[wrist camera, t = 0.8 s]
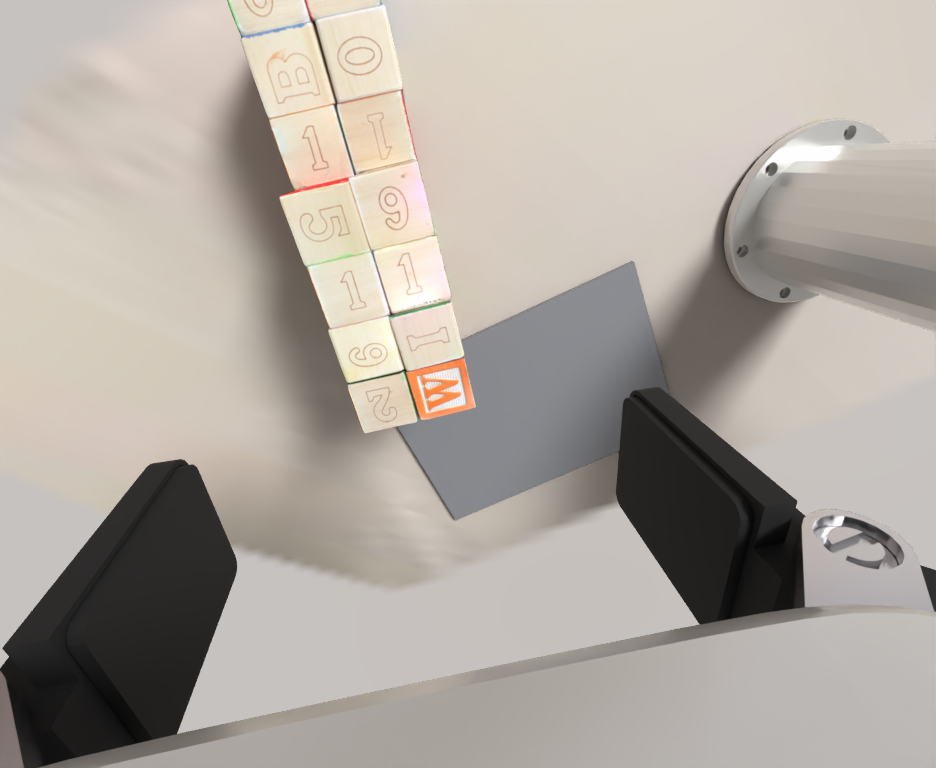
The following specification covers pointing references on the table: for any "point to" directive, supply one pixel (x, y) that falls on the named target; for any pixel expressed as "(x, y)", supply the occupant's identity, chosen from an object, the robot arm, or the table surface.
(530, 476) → the mat
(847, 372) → the table surface
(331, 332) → the stack of blocks
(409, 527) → the table surface
